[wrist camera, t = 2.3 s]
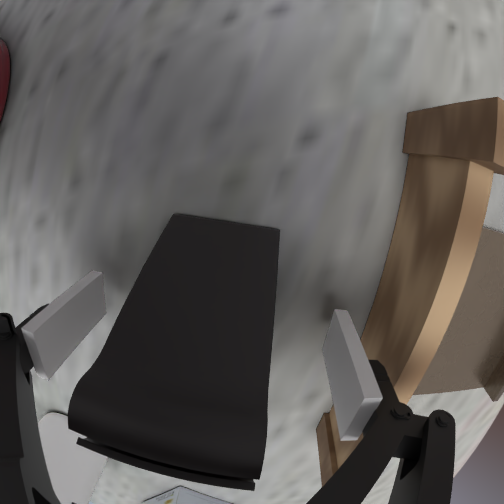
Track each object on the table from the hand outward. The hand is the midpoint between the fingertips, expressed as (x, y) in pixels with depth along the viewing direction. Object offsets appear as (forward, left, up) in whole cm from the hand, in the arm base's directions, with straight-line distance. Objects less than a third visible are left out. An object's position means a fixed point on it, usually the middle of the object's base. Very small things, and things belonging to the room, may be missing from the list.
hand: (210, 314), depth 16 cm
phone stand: (0, 0, -3) cm, 3 cm away
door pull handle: (0, +10, -2) cm, 11 cm away
